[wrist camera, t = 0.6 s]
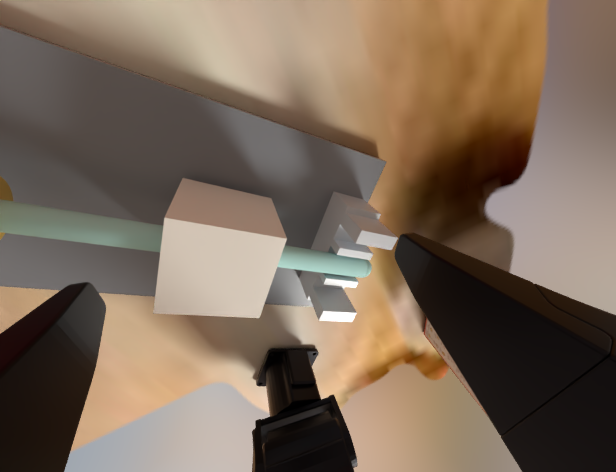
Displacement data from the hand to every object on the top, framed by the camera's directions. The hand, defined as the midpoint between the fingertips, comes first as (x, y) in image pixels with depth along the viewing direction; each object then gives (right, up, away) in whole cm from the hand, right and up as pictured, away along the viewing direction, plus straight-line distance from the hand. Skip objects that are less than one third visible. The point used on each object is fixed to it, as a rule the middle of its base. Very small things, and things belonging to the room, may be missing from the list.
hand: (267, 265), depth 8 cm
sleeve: (-5, +2, +11) cm, 13 cm away
